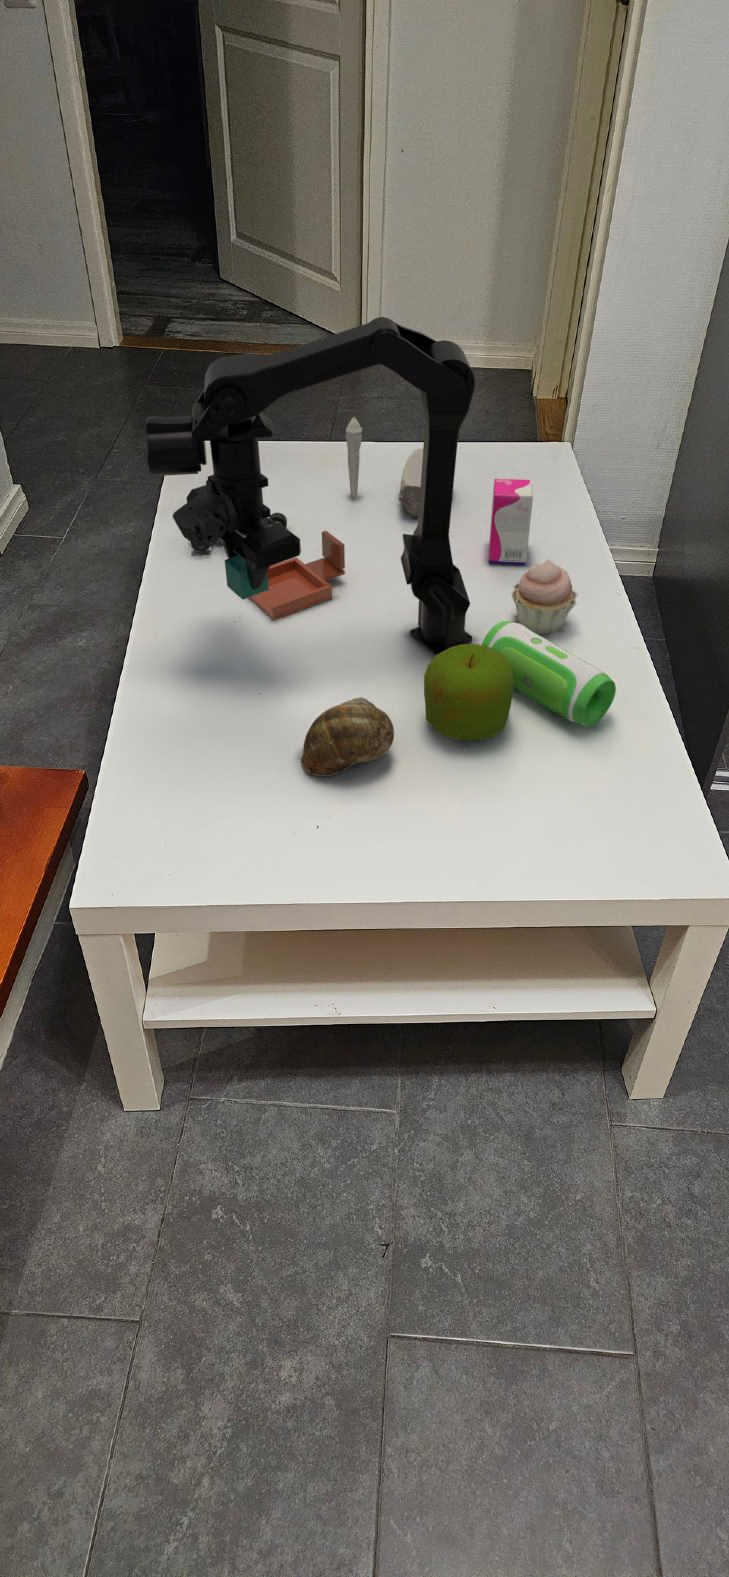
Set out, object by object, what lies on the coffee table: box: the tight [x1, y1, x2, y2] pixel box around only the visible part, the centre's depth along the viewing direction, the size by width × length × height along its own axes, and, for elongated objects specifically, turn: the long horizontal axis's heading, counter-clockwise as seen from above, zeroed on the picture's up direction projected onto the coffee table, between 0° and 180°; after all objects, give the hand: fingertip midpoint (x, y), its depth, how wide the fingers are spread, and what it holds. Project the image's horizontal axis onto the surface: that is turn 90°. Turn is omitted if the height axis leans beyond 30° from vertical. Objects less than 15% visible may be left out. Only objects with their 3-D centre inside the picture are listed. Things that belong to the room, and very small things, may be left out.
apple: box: [423, 643, 515, 742], centre depth 132 cm, size 11×11×11 cm
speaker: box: [481, 620, 617, 727], centre depth 138 cm, size 18×7×8 cm, turn 42°
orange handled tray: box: [248, 530, 346, 621], centre depth 157 cm, size 10×14×6 cm
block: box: [224, 555, 269, 600], centre depth 140 cm, size 4×4×4 cm
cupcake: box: [510, 559, 579, 635], centre depth 149 cm, size 9×9×10 cm
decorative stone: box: [398, 448, 423, 520], centre depth 177 cm, size 15×7×10 cm
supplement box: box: [488, 478, 534, 566], centre depth 163 cm, size 6×6×12 cm
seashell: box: [300, 697, 395, 777], centre depth 128 cm, size 11×9×8 cm
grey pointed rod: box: [345, 416, 363, 500], centre depth 176 cm, size 2×3×14 cm
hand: (247, 581), depth 141 cm, fingers closed on block, 4 cm apart
